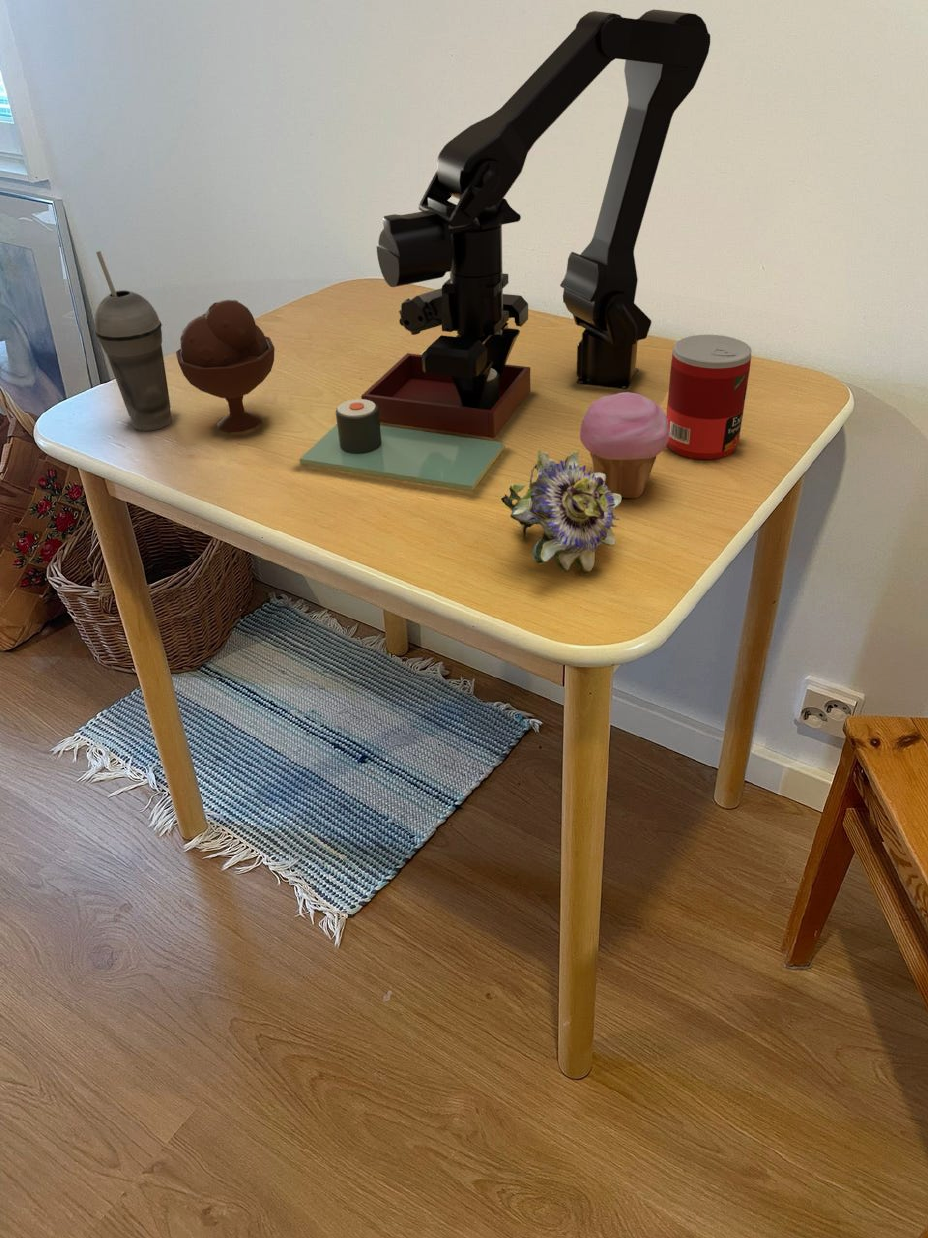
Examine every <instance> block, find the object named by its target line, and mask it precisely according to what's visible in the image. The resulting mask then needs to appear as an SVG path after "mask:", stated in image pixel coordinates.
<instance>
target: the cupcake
mask: <svg viewBox="0 0 928 1238" xmlns="http://www.w3.org/2000/svg"><path fill="white" fill-rule="evenodd" d="M669 436H670V434H669V427H668V419H667V417H666V413H665V411H664V410H663V408H662V407H661V406H660V405H658V404H657V403H656V401H653V400H652V399H650V398H649V397H647V396H645V395H643V394H639V393H636V392H628V391H627V392H626V391H625V392H624V391H623V392H618V393H615V394H612V395H604V396H602V397H599V398H597V399H596V400H594V401H593V402H592V403H591V404H590V406H589V407H588V409H587V410H586V413H585V414H584V416H583V419H582V420H581V425H580V431H579V438H580V442H581V444H582V446H583V447H584V448H585V450H586V451H588V452H589V454H590V457H591V460H592V467H593V473H599V472H600V473H603V474H605V475H606V479H605V484H604V485H606V486H607V487H608V488H609V489H608V490H609V491H610V490H611V492H610V493H612V494H613V493H615V494H619V495H621V497H622V498H627V499H637V498H638V497H641V496H642V494H643V492H644V490H645V487H646V486H647V483H648V480H649V478H650V475H651V472H652V470H653V467H654V466H655V462H656V460H657V456H658V455H659V454H660V453H662V452H663V451H664V449H665V448H666V447H667V443H668V440H669Z"/></svg>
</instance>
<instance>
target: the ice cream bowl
mask: <svg viewBox="0 0 928 1238" xmlns="http://www.w3.org/2000/svg"><path fill="white" fill-rule="evenodd" d="M179 341H180V345H179V346H180V348H179V349H178V350H177V351H175V355H176V360H177V363H178V366H179V368H180V370H181V372H182V374H183V376H184V378H185V379H186V380H187V381H188V383H189V384H190V385H192V386H193V387H194V388H197V389H198V390H199V391H201V392H204V393H206V394H208V395H211V396H213V397H217V398H220V399H225V400H226V402H227V405H228V411H229V413H228V414H227V415H226V416H224V417H222V419H220V421H218V422H217V423H216V427H218V430H220V431H223V432H226V433H245V432H247V431H250V430H253V429H256V428H257V427H258V426H259V425H260V424H261V423H262V419H261V417H260V415H257V414H254V413H250V412H247V411H245V405H244V403H243V400H244V396H245V395H248V394H250V393H251V392H252V391H253V390H255V389H256V388H257V387H258V386H259V385H261V384H262V383H263V382H264V381H265V379H266V378H267V376H268V375H269V374H270V373H271V372H272V369H273V366H274V363H275V350H276V349H275V346H274V343H273V342H272V339H271V338H270V337H269V336H267V335H265V333H264V332H263V330H262V329H261V327H260V326H259V325H257V324H256V321H255V318H254V316H253V313H252V312H251V311H250V309H249V308H248V307H247V306H246V305H245V304H243V303H241V302H239V301H238V300H237V299H225V300H220V301H216V302H213V303H212V304H210V306H209V307H208V309H207V310H206V312H205V313H203V314H201V315H199V316H197V317H195V318H193V319H192V320H191V321H189V322H188V323H187V325H186V326H185V327H184V328H183V330H182V332H181V336H180V340H179Z"/></svg>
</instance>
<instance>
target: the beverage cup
mask: <svg viewBox="0 0 928 1238" xmlns="http://www.w3.org/2000/svg"><path fill="white" fill-rule="evenodd" d="M95 252H96V256H97V259H98V261H99V265H100V266H101V269H102V272H103V274H104V278H105V280H106V283H107V285H108V288H109V291H110V293H109V294H107V295H106V296H104V297H103V299H101V301H100V302H99V304H98V306H97V308H96V311H95V315H94V328H95V330H94V331H95V332H94V333H95V336H96V338H97V339H98V341H99V343H100V345H101V347H102V349H103V351H104V354H106V357H107V359H108V362H109V365H110V368H111V370H112V373H113V376H114V378H115V381H116V384H117V386H118V389H119V392H120V395H121V397H122V400H123V403H124V405H125V408H126V411H127V414H128V416H129V418H130V421H131V422H132V425H133V428H134V429H136V430H138V431H142V432H149V431H156V430H160V429H163V428H165V427H167V426H168V425H170V424H171V423H172V419H173V418H172V415H171V414H172V412H171V411H172V410H171V402H170V401H171V400H170V394H169V393H170V392H169V387H168V379H167V372H166V366H165V359H164V352H163V345H162V343H163V331H162V325H163V324H162V322H161V320H160V317H159V315H158V313H157V311H156V310H155V308H154V306H153V305H152V304H151V302H150V301H149V300H147V298H145V296H143V295H141V294H139V293H136V292H134V291H131V290H116V289H115V286H114V283H113V281H112V278H111V276H110V275H111V274H110V273H109V270H108V267H107V265H106V262H105V260H104V257H103V254H102V251H101V250H98V251H95Z"/></svg>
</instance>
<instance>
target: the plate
mask: <svg viewBox="0 0 928 1238" xmlns="http://www.w3.org/2000/svg"><path fill="white" fill-rule="evenodd" d="M380 431H381V441H382V443H381V446H380V447H379V448H378V449H376V450H374V451H372V452H368V453H363V454H353V453H348V452H345V451H343V450H342V449H341V448H340V443H339V435H338V427H337V423H336V424H335V425H334V426H333V427H331V429H330V430H328V432H327V433H325V434H324V435H323V437H321V438H320V439H319V440H318V441H317V442H316V443H315V444H314V445H313V446H311V447H310V448H309V449H308V450H307V451H306V452H305V453H304V454H303V455H302V456H301V457H300V458H299V463H300V465H303V466H309V467H316V468H323V469H329V470H335V471H341V472H346V473H347V472H348V473H353V474H360V475H367V476H374V477H379V478H384V479H385V478H386V479H392V480H398V481H404V482H411V483H417V484H423V485H430V486H436V487H442V488H449V489H456V490H461V491H467V492H473V491H474V490H475V489H476V487H477V486H478V485H479V483H480V482H481V481H482V479H483V478H484V477H485V475H486V474H487V473H488V471H489V470H490V468H491V467H492V466H493V464H494V463H495V462H496V460H497V459H498V457H500V455H501V454H502V452H503V451H504V450H505V442H501V441H494V440H487V439H480V438H472V437H465V436H459V435H450V434H444V433H437V432H430V431H423V430H416V429H409V428H402V427H395V426H389V425H381V424H380Z"/></svg>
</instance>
